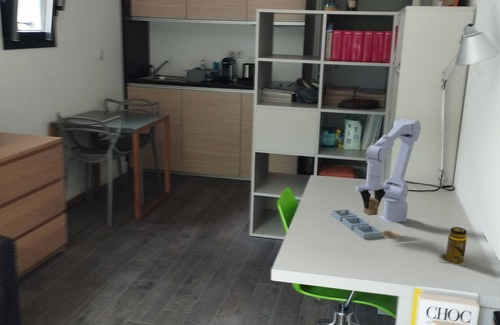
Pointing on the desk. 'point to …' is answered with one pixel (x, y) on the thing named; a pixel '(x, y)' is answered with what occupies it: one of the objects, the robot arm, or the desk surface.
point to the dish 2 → (354, 222)
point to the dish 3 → (367, 231)
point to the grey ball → (344, 213)
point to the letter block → (372, 207)
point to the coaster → (390, 234)
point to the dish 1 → (338, 216)
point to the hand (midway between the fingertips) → (371, 207)
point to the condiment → (455, 247)
